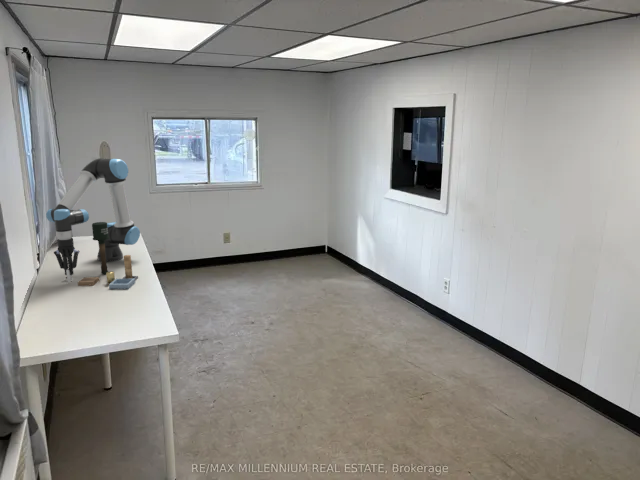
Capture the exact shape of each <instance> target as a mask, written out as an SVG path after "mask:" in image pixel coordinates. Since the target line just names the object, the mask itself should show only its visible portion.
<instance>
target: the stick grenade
mask: <svg viewBox="0 0 640 480" xmlns="http://www.w3.org/2000/svg"><path fill="white" fill-rule="evenodd" d="M107 223H108V222H106V221H99V222H93V223H92V224H91V229H92V240H93V241H97V243H98V251H99V250H100V257H101V261H100V268H101V269H100V273H101V275H102V276H105V275H106V272H109V269H108V265H107V262H106V256H105V240H106V239H109V236H108V227H107Z"/></svg>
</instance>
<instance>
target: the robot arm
mask: <svg viewBox="0 0 640 480" xmlns="http://www.w3.org/2000/svg"><path fill="white" fill-rule="evenodd" d="M79 174H80V175H79V177H78V178H77V179H76V181H75V182H74V183H73V184H72V185H71V187H70V188H69V189H68V191H67V192H66V193H65V194H64V196H63V197H62V199H61V200H60V201H59V202H58V203H57V205H56V206H55V208H50V209H48V210H47V211H46V214H45V216H46V220H47V221H49V222H51V223H54V226H55V233H56V235H55V236H56V243H57V249H56V250H55V251H53V254H54V256H55V257H56V260H57V263H58V265H59V268H60V269H63V270H64V275H65V276H66V280H67V282H72V281H73V280H74V279H73V275H74V269H76V268H77V264H78V257H79V254H80V250H77V249H76V248H75V246H74V239H73V236H74V235H73V228H72V227H73V226H75V225H80V224H84V223H87V221H89V218H90V214H89V213H88V211H87V210H86V209H84V208H81V209H79V208H78V209H74V208H75V207H76V205H77V204H78V203H79V201H81V199H82V198H83V196H84V195H85V193H86V192H87V191H88V190H89V188H90V187H91V186H92V184H95V183H96V182H97V180H99V179H104V183H105V184H107V185H108V189H109V194H110V198H111V203H112V209H113V213H114V218H115V221H114V222H106V223H107V227H108V236H109V239H106V240H105V256H106V263H107V262H115V261H120V260H122V259H124V254H123V251H122V250H121V247H120V245H125V246H133V245H135V244H136V243H137V242H138V241H139V238H140V236H141V231H140V228H139V227H138V226H136V225H135V222H134V221H133V220H132V219H131V215H130V210H129V203H128V199H127V193H126V188H125V182H126V180H127V178H128V176H129V168H128V165H127V163H126V162H125V161H124V160H123V159H119V158H102V157H101V158H95V159H93V160H92V161H90V162H89V163H87V164H86V165H85V166H84V167H83V168H82V170H81V171H80V172H79ZM96 257H97V258H96V259H97V261H99V262H101V257H100V250H99V249H98V252H97V256H96Z"/></svg>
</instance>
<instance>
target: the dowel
mask: <svg viewBox="0 0 640 480" xmlns="http://www.w3.org/2000/svg"><path fill="white" fill-rule="evenodd" d="M123 263H124V264H123V265H124V277H125V276H126V279H134V278H133V276H134V275H133V268H132V267H133V265H132V256H131V254H126V255H123Z"/></svg>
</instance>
